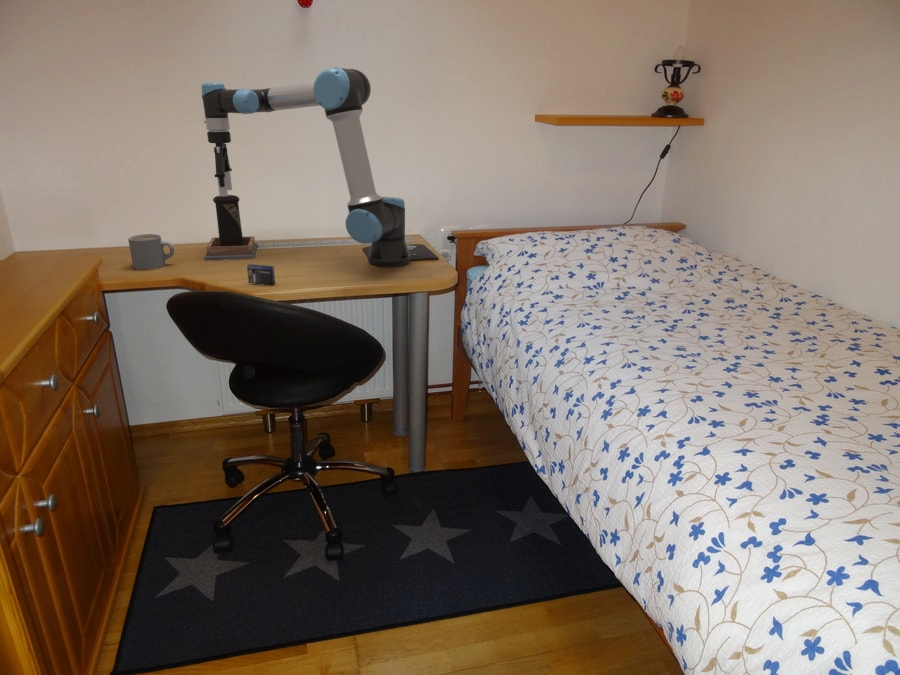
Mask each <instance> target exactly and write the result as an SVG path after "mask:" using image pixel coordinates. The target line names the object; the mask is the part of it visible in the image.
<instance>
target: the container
mask: <svg viewBox="0 0 900 675" xmlns="http://www.w3.org/2000/svg"><path fill="white" fill-rule="evenodd" d="M212 201H213V202H214V204H215V210H216V211H215V212H216V218H217V229H218V231H217V232H218V237H219V241H220V246H244V244H243V237H244V235H243V230H242V222H241V214H240V206H239V202H240V197H239V196H238V195H234V194H228V196H220V195H216V196H215V197H213V198H212Z"/></svg>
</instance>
